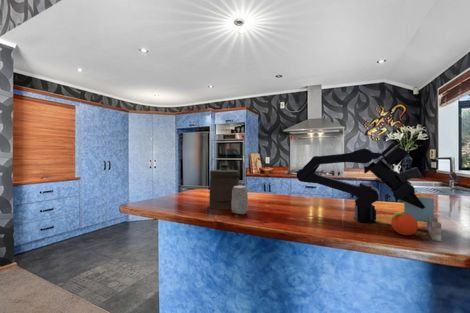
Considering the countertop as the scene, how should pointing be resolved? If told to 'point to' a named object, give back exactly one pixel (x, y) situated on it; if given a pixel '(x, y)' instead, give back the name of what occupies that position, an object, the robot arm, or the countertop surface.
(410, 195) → the robot arm
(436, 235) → the birch slotted plate
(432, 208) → the teal slotted plate
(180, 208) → the countertop surface
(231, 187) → the wooden container
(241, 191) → the carving
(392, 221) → the clementine
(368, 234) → the countertop surface
